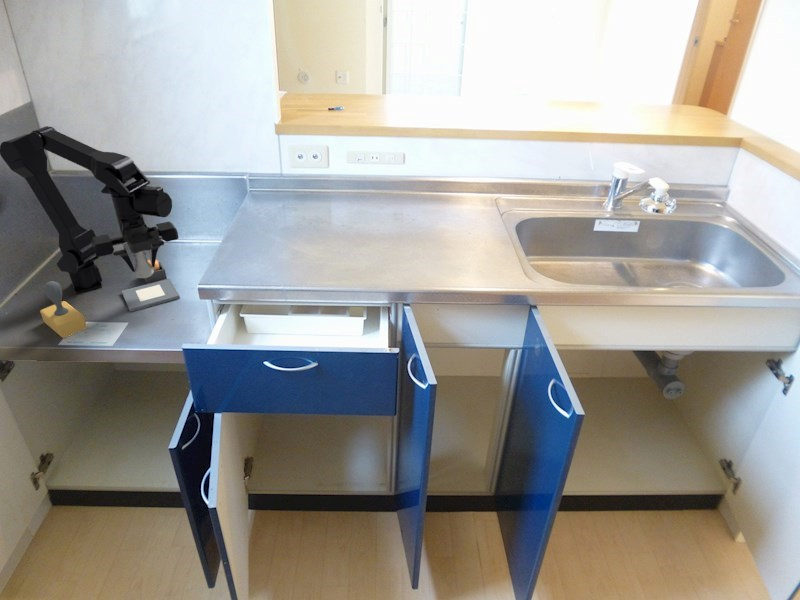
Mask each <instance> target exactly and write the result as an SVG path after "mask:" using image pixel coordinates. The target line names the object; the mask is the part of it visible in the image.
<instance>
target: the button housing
mask: <svg viewBox="0 0 800 600" xmlns="http://www.w3.org/2000/svg"><path fill="white" fill-rule="evenodd" d="M158 263H159V267H160V270H158V271H154V273H153V274H152V275H151V276H150V277H147V278H143V280H144V282H145V283H146V284H150V283H154V282H158V281H162V280H165V279H168V277H167V273H166V270H165V269H166V268H164V266H163V264H162V262H161V261H158ZM146 284H145V285H146Z"/></svg>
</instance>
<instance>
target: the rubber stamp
mask: <svg viewBox="0 0 800 600" xmlns="http://www.w3.org/2000/svg"><path fill="white" fill-rule="evenodd" d="M43 291H44V293H45V297H47V298H48V299H49V300H50V301H51V302H52V303H53V304H52V305H50V306H47V307H44V308H43V309H40V311H39V312H40V314H41V315H40V316H41V318H42V320H43V322H44V323H45V324H46V325H47V326H48V327H49V328H50V329H52V330H53V331H54V332H55V333H56V334H57V335H58V336H60V337H61V338H63V339H66V338H68V337H70V336H72V335H71V334H73V333H75V332H77V333H79V332H78V331H80V332H82V331H84V330H86V329H88V326H87V322H86V319H85V317H84V315H83V313H81V312H80V311H78V310H77V309H76V308H74V307H73V306H72V305H70V304H69V303H68V302H67V301H64V300H63V301H62V299H63V288H62V286H61V284H60V283H59V282H57V281H53V280H50V281H48V282H46V283H45V284H44V286H43ZM85 328H86V329H85ZM83 329H84V330H83ZM81 330H82V331H81ZM75 334H76V333H75ZM69 335H70V336H69ZM73 335H74V334H73ZM67 336H68V337H67ZM65 337H66V338H65Z"/></svg>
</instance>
